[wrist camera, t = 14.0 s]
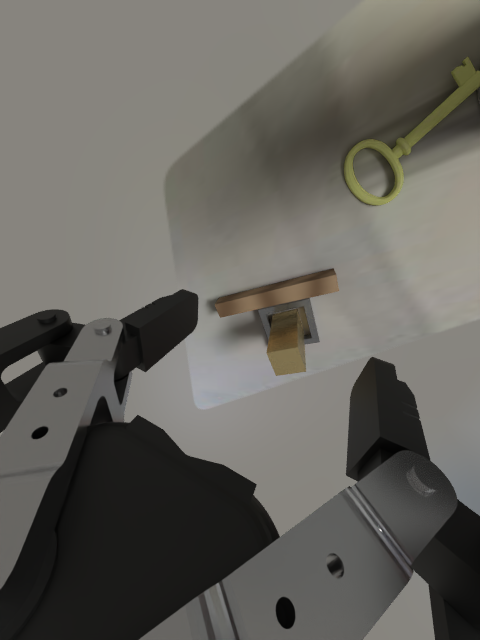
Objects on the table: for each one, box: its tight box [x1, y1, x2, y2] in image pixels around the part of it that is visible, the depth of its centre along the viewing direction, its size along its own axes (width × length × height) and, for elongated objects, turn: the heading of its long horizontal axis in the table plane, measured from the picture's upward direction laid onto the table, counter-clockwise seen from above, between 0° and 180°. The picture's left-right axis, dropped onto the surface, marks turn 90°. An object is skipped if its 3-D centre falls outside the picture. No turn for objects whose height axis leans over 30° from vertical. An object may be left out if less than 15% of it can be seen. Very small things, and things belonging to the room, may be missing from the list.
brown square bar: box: [215, 268, 339, 318], centre depth 34 cm, size 18×2×2 cm, turn 110°
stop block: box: [267, 309, 306, 376], centre depth 33 cm, size 4×4×10 cm
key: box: [344, 57, 480, 205], centre depth 23 cm, size 7×12×2 cm, turn 157°
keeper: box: [258, 298, 319, 344], centre depth 37 cm, size 8×8×1 cm
